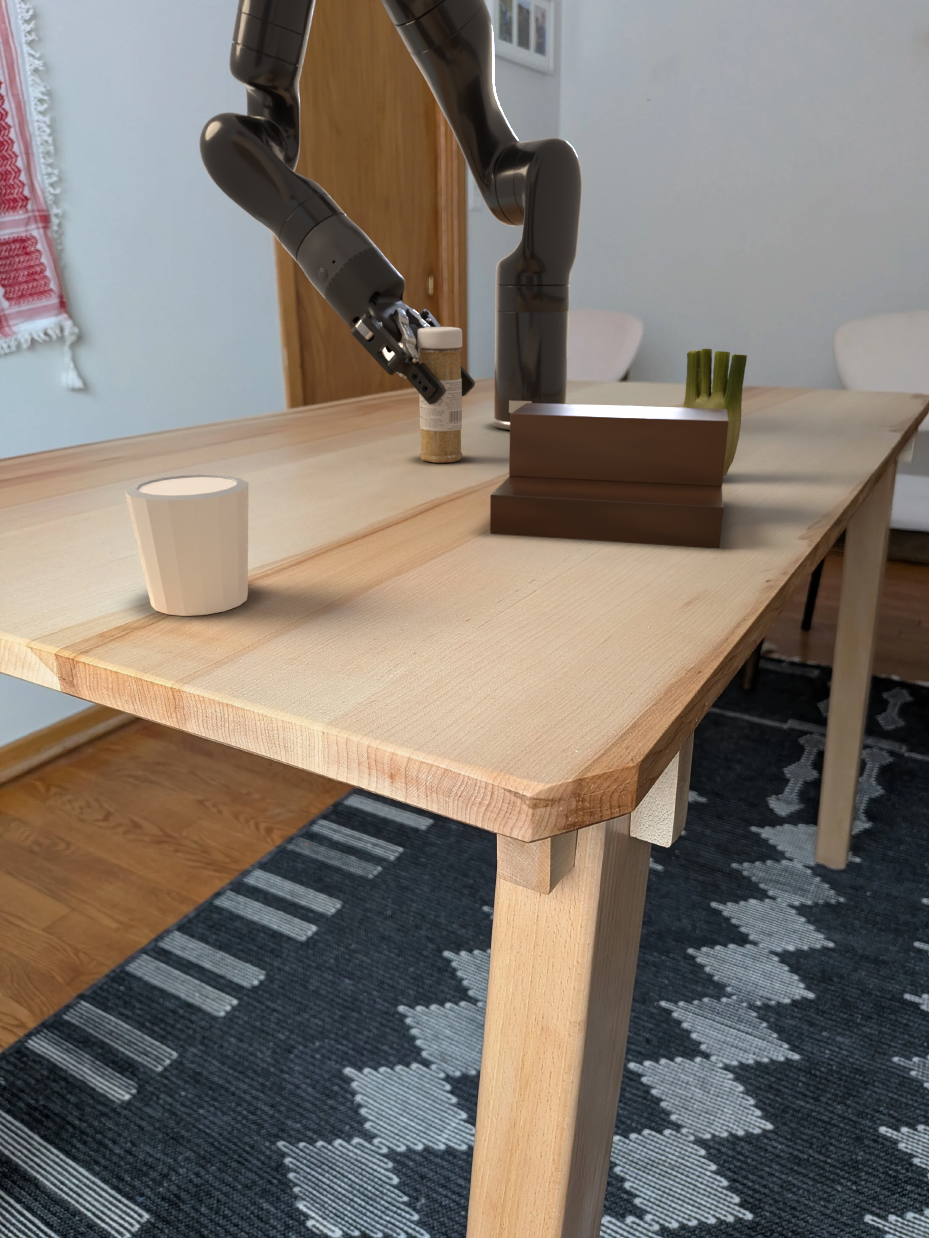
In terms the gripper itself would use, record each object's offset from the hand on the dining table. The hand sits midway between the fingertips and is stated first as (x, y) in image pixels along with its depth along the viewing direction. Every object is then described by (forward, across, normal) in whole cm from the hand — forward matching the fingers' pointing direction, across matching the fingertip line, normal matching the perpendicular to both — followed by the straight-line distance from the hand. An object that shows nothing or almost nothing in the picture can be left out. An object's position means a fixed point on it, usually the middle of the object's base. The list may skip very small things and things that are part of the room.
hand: (454, 394), depth 94 cm
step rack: (+20, -17, -10) cm, 29 cm away
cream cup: (+8, -47, +2) cm, 47 cm away
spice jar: (+4, 0, +6) cm, 7 cm away
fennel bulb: (+23, +2, -13) cm, 26 cm away
